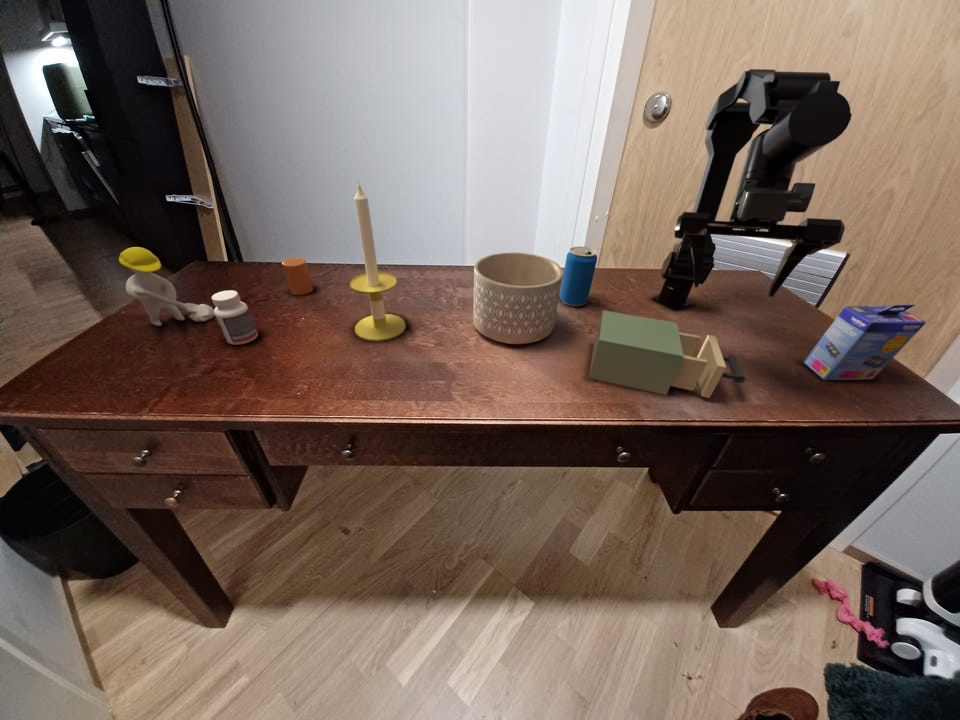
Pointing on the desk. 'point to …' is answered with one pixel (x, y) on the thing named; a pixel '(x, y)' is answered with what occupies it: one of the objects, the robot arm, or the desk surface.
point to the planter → (516, 296)
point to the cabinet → (636, 352)
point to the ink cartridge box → (862, 341)
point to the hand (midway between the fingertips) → (731, 291)
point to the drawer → (704, 365)
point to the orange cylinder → (297, 276)
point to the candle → (373, 282)
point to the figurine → (156, 288)
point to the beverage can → (578, 276)
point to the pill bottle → (234, 318)
